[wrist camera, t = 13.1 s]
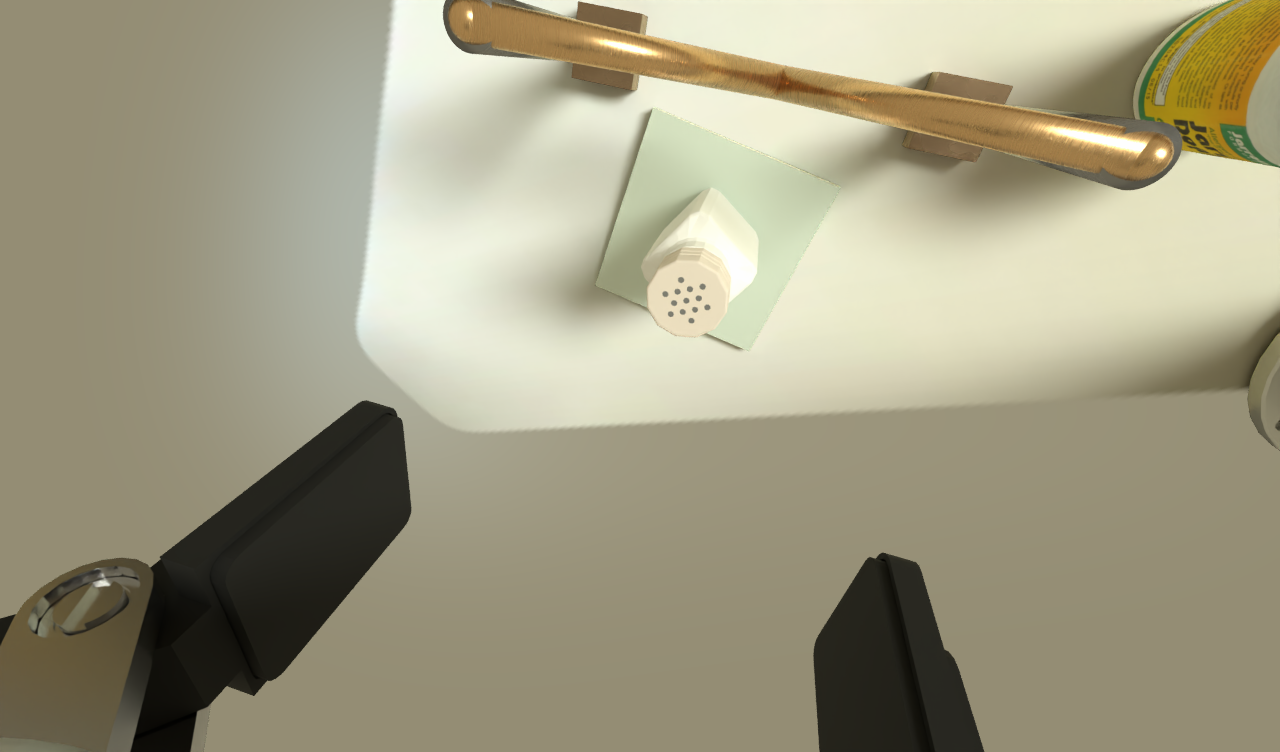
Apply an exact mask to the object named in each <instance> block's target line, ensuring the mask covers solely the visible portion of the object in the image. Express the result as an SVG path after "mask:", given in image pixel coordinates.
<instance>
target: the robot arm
mask: <svg viewBox="0 0 1280 752" xmlns="http://www.w3.org/2000/svg"><path fill="white" fill-rule="evenodd" d="M1248 405H1249V412H1250V417H1251V419H1252V421H1253V423H1254V425H1255V427H1256V428H1257V430H1258V432H1259V433H1260V434H1261V435H1262V436H1263V437H1264V438H1265V439H1266V440H1267V441H1268V442H1269V443H1270V444H1271V445H1272V446H1274V447H1275V448H1277V449H1278V450H1280V333H1279V334H1278V335H1277V336H1276V337H1275V338H1274V340H1273V341H1272V342H1271V344H1270V345H1269V347H1268V348H1267V349H1266V351H1265V352H1264V354H1263V355H1262V356H1261V358H1260V360H1259V362H1258V364H1257V366H1256V369H1255V371H1254V373H1253V375H1252V378H1251V381H1250V387H1249V393H1248ZM410 514H411V501H410V490H409V480H408V472H407V462H406V451H405V441H404V431H403V423H402V420H401V418H399V417H397V413H396V411H395V410H394V409H393V408H390V407H386V406H384V405H380V404H377V403H373V402H369V401H362V402H360V403H358V404H357V405H356V406H354V407H353V408H352V409H350V410H349V411H348V412H346V413H345V414H344V415H342V416H341V417H340V418H339V419H337V420H336V421H335V422H333V423H332V424H331V425H330V426H329V427H327V428H326V429H324V430H323V431H322V432H321V433H319V434H318V435H317V436H315V437H314V438H313V439H312V440H310V441H309V442H308V443H306V444H305V445H304V446H303V447H302V448H300V449H299V450H297V451H296V452H295V453H294V454H292V455H291V456H290V457H288V458H287V459H286V460H284V461H283V462H282V463H281V464H279V465H278V466H277V467H275V468H274V469H273V470H271V471H270V472H269V473H268V474H266V475H265V476H264V477H262V478H261V479H260V480H259V481H257V482H256V483H255V484H253V485H252V486H251V487H250V488H248V489H247V490H246V491H244V492H243V493H242V494H241V495H239V496H238V497H237V498H235V499H234V500H233V501H231V502H230V503H229V504H228V505H226V506H225V507H224V508H222V509H221V510H220V511H219V512H218V513H216V514H215V515H213V516H212V517H211V518H210V519H208V520H207V521H206V522H204V523H203V524H202V525H200V526H199V527H198V528H197V529H195V530H194V531H193V532H191V533H190V534H189V535H188V536H186V537H185V538H184V539H182V540H181V541H180V542H179V543H177V544H176V545H175V546H173V547H172V548H171V549H169V550H168V551H167V552H166V553H164V554H163V555H162V556H160V558H161V560H159V561H158V562H157V563H156V564H154V565H153V566H152V567H149V566H148V565H147V564H146V563H143V562H141V561H139V560H137V559H129V558H114V559H106V560H101V561H97V562H93V563H90V564H86V565H83V566H80V567H78V568H76V569H74V570H71V571H69V572H67V573H65V574H62V575H60V576H59V577H57V578H56V579H54V580H52V581H51V582H49V583H48V584H46V585H44V586H43V587H41V588H40V589H39V590H38V591H37V592H36V593H34V594H33V595H32V596H31V597H30V598H29V599H28V600H27V601H26V602H24V604H23V605H22V607H21V608H20V610H19V611H18V613H17V614H15V615H12V616H8V617H5V618H1V619H0V752H204V747H205V740H206V734H207V727H208V721H209V713H210V708H211V703H212V702H213V700H214V699H215V698H216V697H217V696H218V695H219V694H220V693H221V692H222V690H223V689H224V688H225V687H226V686H228V687H231V688H234V689H236V690H240V691H242V692H245V693H247V694H250V695H253V696H254V695H255V694H256V693H257V692H258V690H259V689H260V688H261V687H262V686H263V685H264V684H265V682H266V681H267V680H268V681H272V680H274V679H276V678H277V677H278V676H280V675H281V674H282V673H283V672H284V671H285V670H286V668H287V667H288V666H289V665H290V664H291V662H292V661H293V660H294V659H295V658H296V656H297V655H298V654H299V653H300V652H301V650H302V649H303V648H304V647H305V646H306V644H307V643H308V642H309V641H310V640H311V638H312V637H313V636H314V635H315V634H316V632H317V631H318V630H319V629H320V628H321V626H322V625H323V624H324V623H325V621H326V620H327V619H328V618H329V616H331V614H332V613H333V612H334V611H335V610H336V608H337V607H338V606H339V604H341V602H342V601H343V600H344V599H345V598H346V596H347V595H348V594H349V593H350V591H351V590H352V589H353V588H354V587H355V585H356V584H357V583H358V582H359V580H360V579H361V578H362V577H363V576H364V575H365V573H366V572H367V571H368V570H369V569H370V567H371V566H372V565H373V564H374V562H375V561H376V560H377V559H378V558H379V557H380V555H381V554H382V553H383V552H384V550H385V549H386V548H387V547H388V546H389V545H390V543H391V542H392V541H393V540H394V539H395V537H396V536H397V535H398V534H399V533H400V531H401V530H402V529H403V528H404V526H405V525H406V524H407V522H408V520H409V517H410ZM814 673H815V686H816V687H815V688H816V703H817V718H818V735H819V750H820V752H984V750H983V746H982V743H981V740H980V736H979V733H978V730H977V727H976V724H975V720H974V717H973V714H972V711H971V707H970V704H969V701H968V698H967V694H966V692H965V688H964V685H963V682H962V678H961V675H960V672H959V669H958V666H957V664H956V662H955V659H954V658H953V657H952V655H951V654H950V653H949V652H948V651H946V650H944V647H943V643H942V640H941V637H940V633H939V630H938V627H937V623H936V620H935V617H934V613H933V610H932V606H931V603H930V599H929V596H928V593H927V589H926V586H925V582H924V579H923V576H922V572H921V569H920V567H919V565H918V564H917V563H916V562H913V561H910V560H906V559H903V558H900V557H896V556H893V555H889V554H886V553H881V554H879V555H878V557H877V558H876V559H874V558H871V557H869V558H868V559H867V560H866V561H865V563H864V564H863V566H862V567H861V569H860V570H859V572H858V574H857V575H856V577H855V578H854V580H853V582H852V583H851V585H850V586H849V588H848V589H847V591H846V593H845V594H844V596H843V598H842V599H841V601H840V602H839V604H838V605H837V607H836V609H835V610H834V612H833V613H832V615H831V617H830V618H829V620H828V621H827V623H826V624H825V626H824V627H823V629H822V631H821V632H820V634H819V635H818V637H817V639H816V642H815V646H814Z"/></svg>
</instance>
